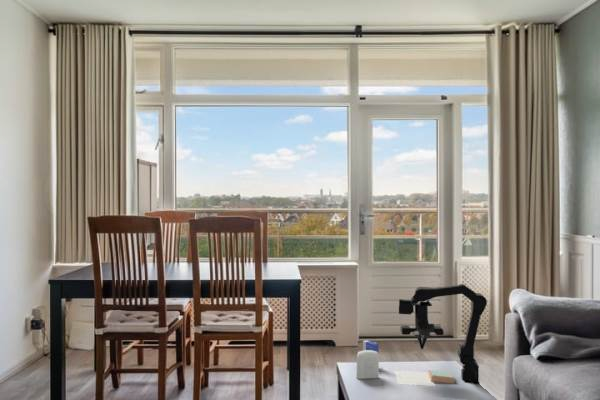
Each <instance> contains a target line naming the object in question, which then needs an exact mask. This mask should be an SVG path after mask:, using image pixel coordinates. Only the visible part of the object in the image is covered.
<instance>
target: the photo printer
mask: <svg viewBox="0 0 600 400" xmlns="http://www.w3.org/2000/svg"><path fill="white" fill-rule="evenodd" d="M379 359H380V357H379V351H378V352H376V351H372V350H364V351H363V350H361V351H358V352H357V354H356V378H357V379H358V380H359V379H360V380H365V379H366V380H368V379H379V370H380V369H379V368H380V366H379V365H380V363H379V361H380V360H379Z"/></svg>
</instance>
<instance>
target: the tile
mask: <svg viewBox="0 0 600 400" xmlns="http://www.w3.org/2000/svg"><path fill="white" fill-rule="evenodd" d="M428 372H429V373H428V376H429V378H430V380H431V382H434V383H446V384H447V383H448V384H455V377H454V375H453V374H452V372H450V371H438V370H430V369H429V370H428Z"/></svg>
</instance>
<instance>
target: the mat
mask: <svg viewBox="0 0 600 400" xmlns="http://www.w3.org/2000/svg"><path fill="white" fill-rule="evenodd" d="M428 373H429V371H427V372H426V371H406V370H394V374H395V377H396V381H397V385H408V386H409V385H410V386H414V385H415V386H426V387H427V386H429V387H430V386H431V387H436V384H435V382H431V380H430V378H429V376H428Z"/></svg>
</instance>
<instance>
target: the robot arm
mask: <svg viewBox="0 0 600 400" xmlns="http://www.w3.org/2000/svg"><path fill="white" fill-rule="evenodd" d="M455 295H463V296H464V297H466V298H467V299H468V300H469V301H470V312H471V313H470V317H469V320H468V326H467V329H466V332H465V333H466V334H465V338H464V341H463V343H462V344H460V343H459V344H458V350H457V351H456V352H457V356H458V358H459V361H460V363H461V364H462V369H460V371H461V374H460V375H461V376H460V377H461V380H462V381H463V382H464V383H468V384H475V385H476V384H477V385H480V384H481V382H480V380H479V377H480V376H479V375H480V373H479V367H480V366H479V364H478V362H477V360H476V359H475V351H474V349H475V348H474V346H475V341H476V337H477V333H478V329H479V324H480V319H481V316H482V315H483V313H484V312H485V309H486V306H487V305H488V300H487V299H486V297H485V296H484V295H483V294H482V293H479V292H475V291H474V290H473V289H471V288H470V287H467V286H466V285H465V284H464V283H460V284H456V285H455V284H454V285H448V286H447V285H446V286H441V287H428V286H427V287H426V286H418V287H417V288H415V290H414V295H413V296H412V297H411V298H410V299H402V298H400V299H399V300H398V303H399V304H398V315H409V316H411V315H412V314H413V313H414V324H415V325H414V327H410V325H400V329H399V331H400V334H401V335H405V336H407V335H411V334H412V335H413V336H414V337H416V339H417V341H418V344H419V348H420V349H421V350H424V347H425V345H426V342H427V339H428V338H429V337H432V335H431V333H434V334H435V335H436V336H444V329H443V328H442V327H441V326H440V325H435V324H434V323H429V315H428V314H429V313H428V312H429V307H432V306H433V303H431V302H430V301H429V300H432V299H434V298H438V297H439V298H440V297H445V296H446V297H447V296H455Z"/></svg>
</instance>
